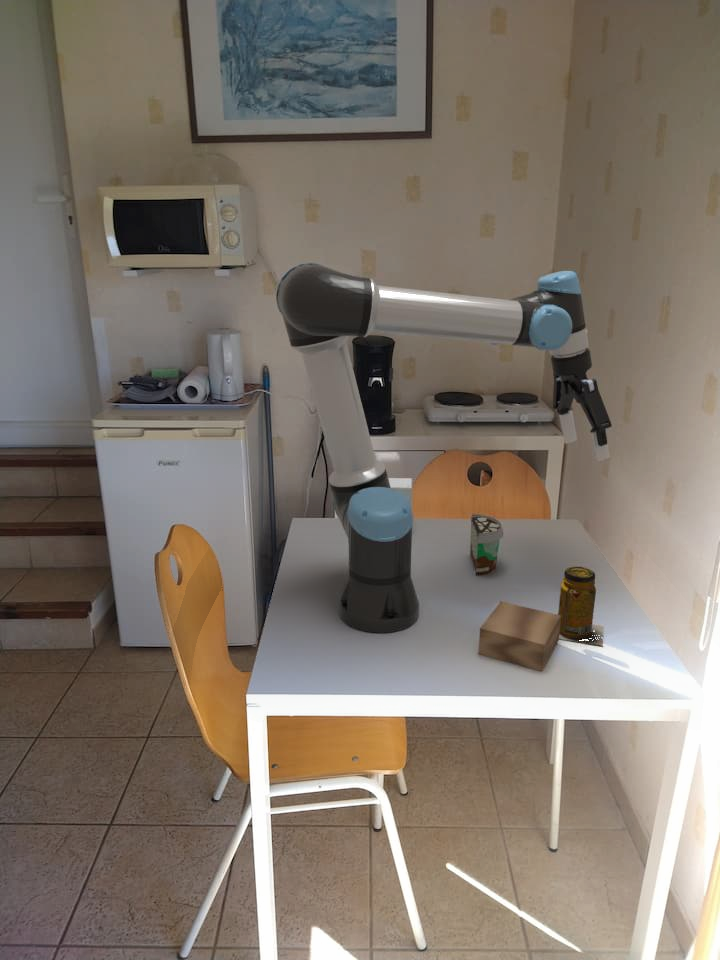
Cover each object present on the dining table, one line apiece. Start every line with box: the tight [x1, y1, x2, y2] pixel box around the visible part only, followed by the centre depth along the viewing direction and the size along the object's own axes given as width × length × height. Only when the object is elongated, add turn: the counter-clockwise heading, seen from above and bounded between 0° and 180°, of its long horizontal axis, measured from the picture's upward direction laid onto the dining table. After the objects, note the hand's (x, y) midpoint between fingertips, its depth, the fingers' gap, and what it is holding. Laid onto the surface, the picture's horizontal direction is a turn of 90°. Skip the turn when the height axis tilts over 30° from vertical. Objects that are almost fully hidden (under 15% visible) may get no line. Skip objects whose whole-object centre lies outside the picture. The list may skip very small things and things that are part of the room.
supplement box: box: [388, 477, 413, 506], centre depth 173 cm, size 7×7×13 cm
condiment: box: [557, 565, 605, 647], centre depth 127 cm, size 7×8×12 cm
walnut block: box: [478, 600, 561, 672], centre depth 124 cm, size 11×11×5 cm
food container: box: [469, 513, 504, 576], centre depth 155 cm, size 12×6×10 cm, turn 179°
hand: (586, 450), depth 148 cm, fingers open, 13 cm apart
